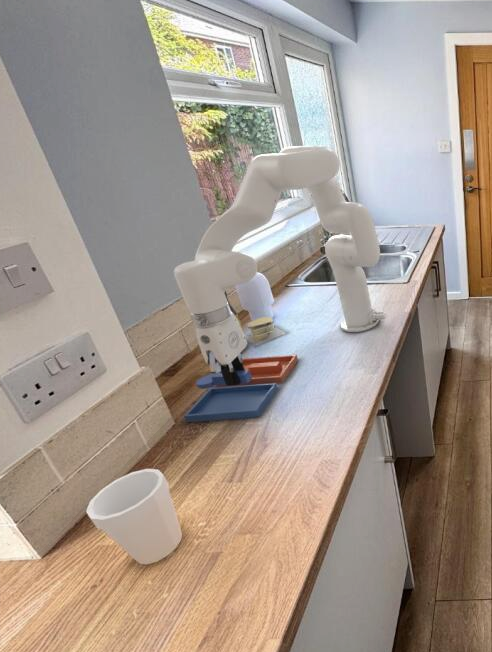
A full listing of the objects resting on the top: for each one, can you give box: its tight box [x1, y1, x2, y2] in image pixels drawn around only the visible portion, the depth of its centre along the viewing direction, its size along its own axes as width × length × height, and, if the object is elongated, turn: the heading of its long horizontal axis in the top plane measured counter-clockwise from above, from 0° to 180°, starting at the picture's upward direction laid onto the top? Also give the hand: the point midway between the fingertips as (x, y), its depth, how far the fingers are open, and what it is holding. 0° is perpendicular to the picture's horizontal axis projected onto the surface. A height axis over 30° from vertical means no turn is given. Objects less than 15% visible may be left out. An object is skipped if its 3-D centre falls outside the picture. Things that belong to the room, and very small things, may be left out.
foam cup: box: [85, 468, 183, 565], centre depth 66 cm, size 10×9×13 cm
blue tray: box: [183, 383, 279, 424], centre depth 103 cm, size 17×11×2 cm, turn 93°
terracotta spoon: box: [243, 362, 282, 375], centre depth 115 cm, size 12×4×2 cm, turn 93°
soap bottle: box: [234, 271, 275, 322], centre depth 143 cm, size 10×10×24 cm
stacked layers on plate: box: [245, 317, 286, 347], centre depth 135 cm, size 10×9×6 cm
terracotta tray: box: [217, 354, 299, 387], centre depth 115 cm, size 17×11×2 cm, turn 93°
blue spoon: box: [196, 370, 252, 390], centre depth 99 cm, size 12×4×2 cm, turn 93°
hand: (236, 380), depth 100 cm, fingers closed on blue spoon, 2 cm apart
